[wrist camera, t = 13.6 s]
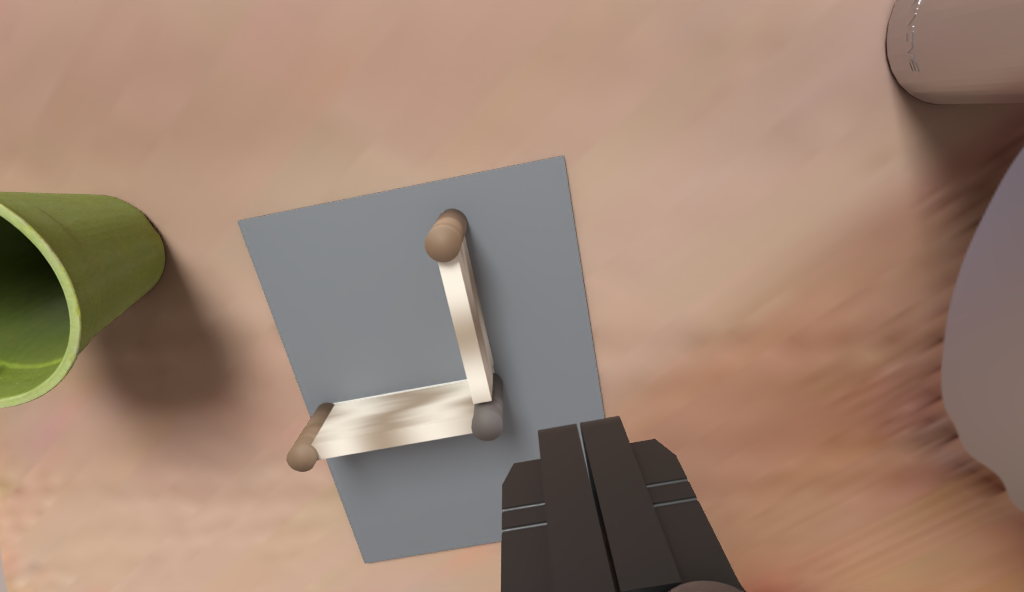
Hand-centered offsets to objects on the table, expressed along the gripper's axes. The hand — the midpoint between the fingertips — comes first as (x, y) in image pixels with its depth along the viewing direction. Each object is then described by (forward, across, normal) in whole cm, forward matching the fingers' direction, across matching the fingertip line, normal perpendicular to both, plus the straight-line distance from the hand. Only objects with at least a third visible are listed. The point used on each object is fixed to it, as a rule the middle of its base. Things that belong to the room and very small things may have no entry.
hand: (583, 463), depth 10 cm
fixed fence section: (+27, +5, +6) cm, 28 cm away
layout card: (+27, +8, +12) cm, 31 cm away
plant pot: (+27, +28, -3) cm, 39 cm away
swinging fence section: (+26, +11, +12) cm, 31 cm away
